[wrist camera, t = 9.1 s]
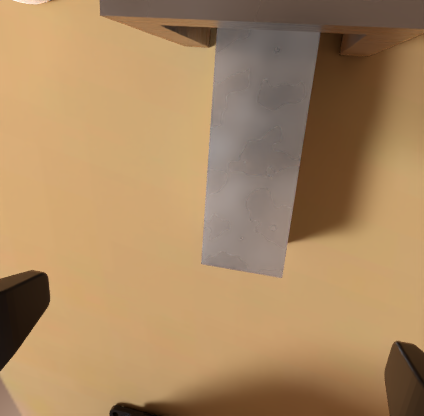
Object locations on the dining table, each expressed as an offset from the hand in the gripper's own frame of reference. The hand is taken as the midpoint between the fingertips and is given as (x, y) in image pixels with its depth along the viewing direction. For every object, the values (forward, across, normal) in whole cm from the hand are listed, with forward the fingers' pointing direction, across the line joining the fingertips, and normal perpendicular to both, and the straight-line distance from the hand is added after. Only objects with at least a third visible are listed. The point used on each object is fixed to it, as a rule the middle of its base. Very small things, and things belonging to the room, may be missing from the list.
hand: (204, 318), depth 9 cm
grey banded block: (+12, 0, -6) cm, 13 cm away
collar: (+12, 0, -8) cm, 14 cm away
